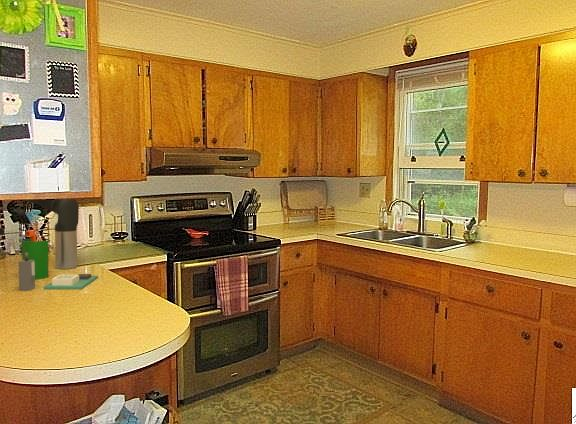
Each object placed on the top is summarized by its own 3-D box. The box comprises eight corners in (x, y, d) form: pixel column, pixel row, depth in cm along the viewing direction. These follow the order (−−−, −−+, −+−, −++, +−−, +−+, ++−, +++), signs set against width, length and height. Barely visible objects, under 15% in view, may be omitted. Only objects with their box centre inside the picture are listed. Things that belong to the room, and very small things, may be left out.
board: (63, 277, 203) (63, 269, 202) (98, 277, 204) (97, 269, 203) (43, 289, 183) (43, 280, 182) (81, 289, 184) (81, 280, 183)
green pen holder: (52, 275, 206) (52, 229, 205) (40, 280, 198) (39, 231, 196) (30, 274, 207) (29, 228, 206) (17, 279, 199) (15, 230, 197)
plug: (24, 288, 184) (23, 251, 183) (36, 288, 184) (35, 251, 183) (19, 290, 180) (18, 253, 179) (32, 290, 180) (31, 253, 179)
